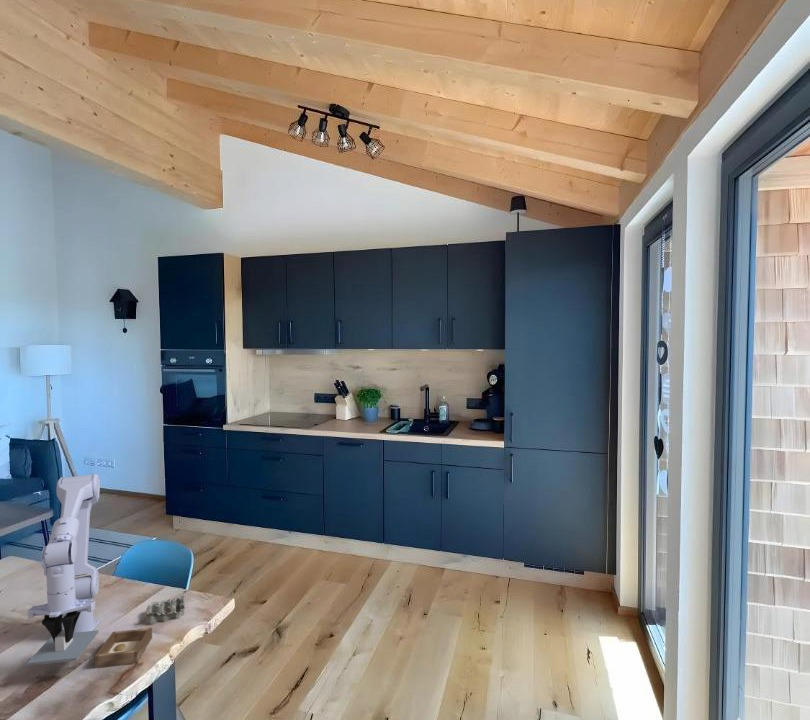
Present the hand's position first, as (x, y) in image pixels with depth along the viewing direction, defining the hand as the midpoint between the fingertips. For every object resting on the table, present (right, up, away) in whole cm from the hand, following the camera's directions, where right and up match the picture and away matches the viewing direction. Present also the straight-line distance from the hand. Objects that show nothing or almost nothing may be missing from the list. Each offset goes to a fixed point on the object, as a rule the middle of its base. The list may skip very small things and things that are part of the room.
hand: (63, 640), depth 119 cm
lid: (0, -2, 0) cm, 2 cm away
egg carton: (+15, -6, +22) cm, 27 cm away
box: (+12, -7, +5) cm, 15 cm away
